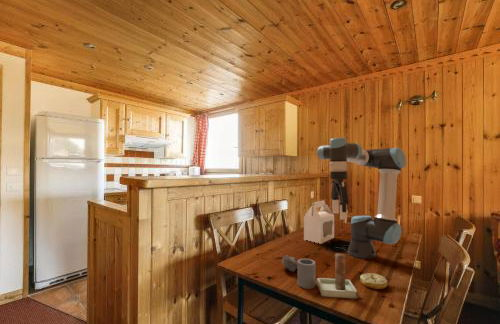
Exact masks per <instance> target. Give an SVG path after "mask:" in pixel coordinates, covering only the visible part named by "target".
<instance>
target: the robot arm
mask: <svg viewBox="0 0 500 324" xmlns="http://www.w3.org/2000/svg"><path fill="white" fill-rule="evenodd" d="M316 150H317V154H316V155H317V156H318V158H319V159H321V160H329V164H328V166H329V169H330V171H329V174H330V175H329V176H330V177H329V178H330V180H331V182H332V185H331V195H330V197H331V199H332V213H333V214H339V215H340V217H339V218H340V220H342V221H343V220H348V205H349V204H350V202H349V197H348V192H347V191H348V189H347V183H346V181H344V180H348V171H347V170H348V163H354V164H356V165H358V166H363V167H367V168H373V169H377V171H378V172H379V176H380V177H379V188H378V189H379V190H378V199H377V201H378V202H377V211H376V212H377V214H376V215H374V216H373V217H372V216H371V215H355V216H352V217H351V221H350V243H349V246H348V248H347V253H348V255H350V256H353V257H355V258H359V259H368V260H369V259H373V258H376V251H375V246H374V244H373V241H375V242H376V241H377V242H379V243H380V242H381V243H384V244H388V245H395V244H397V242H398V241H400V239H401V235H402V226H401V224H399V223H398V219H397V218H396V215H395V214H396V202H397V201H396V200H397V188H398V185H397V184H398V175H399V174H400V173H401V172H402V169H404V168H405V167H406V165H407V157H406V154H405V152H404V150H402V148H399V147H388V148H387V147H386V148H374V149H372V148H370V149H363V148H362V145H360V144H359V143H356V142H348V141H347V138H346V137H334V138H333V137H332V138H330V139H329V144H328V145H327V144H324V145H320V146H318V148H317V149H316ZM339 201H340V202H339ZM339 212H340V213H339Z"/></svg>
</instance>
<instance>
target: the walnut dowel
mask: <svg viewBox="0 0 500 324" xmlns="http://www.w3.org/2000/svg"><path fill="white" fill-rule="evenodd" d="M334 259H335V261H334V263H335V264H334V265H335V266H334V269H335V271H334V272H335V273H334V274H335V275H334V279H335V288H336V289H337V290H345V280H346V254H345V253H339V252H338V253H335V254H334Z"/></svg>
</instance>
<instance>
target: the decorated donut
mask: <svg viewBox="0 0 500 324" xmlns="http://www.w3.org/2000/svg"><path fill="white" fill-rule="evenodd" d="M359 277H360V278H359V279H360V283H361V284H362V285H363V286H365V287H367V288H369V289H370V288H371V289H374V290H375V289H376V290H382V289H385V288H387V286H388V280H387V279H386V277H384V276H383V275H380V274H378V273H371V272H370V273H369V272H367V273H363V274H361V275H360V276H359Z"/></svg>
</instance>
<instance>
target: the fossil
mask: <svg viewBox="0 0 500 324" xmlns="http://www.w3.org/2000/svg"><path fill="white" fill-rule="evenodd" d="M297 262H298V261H297V258H296V257H294V256H290V255H288V254H285V255H284V256H282V258H281V263H282V265H283V267H284V268H285V269H287V270H288V271H289V272H295V271H296V270H297Z"/></svg>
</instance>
